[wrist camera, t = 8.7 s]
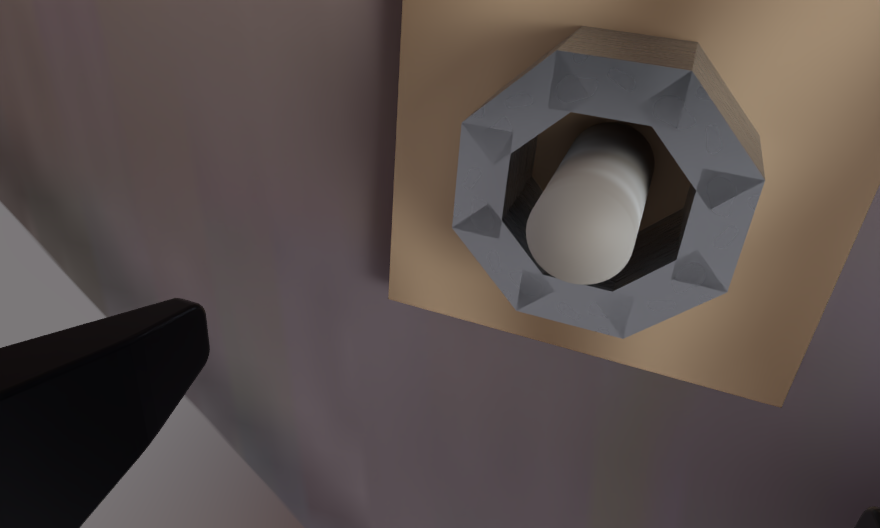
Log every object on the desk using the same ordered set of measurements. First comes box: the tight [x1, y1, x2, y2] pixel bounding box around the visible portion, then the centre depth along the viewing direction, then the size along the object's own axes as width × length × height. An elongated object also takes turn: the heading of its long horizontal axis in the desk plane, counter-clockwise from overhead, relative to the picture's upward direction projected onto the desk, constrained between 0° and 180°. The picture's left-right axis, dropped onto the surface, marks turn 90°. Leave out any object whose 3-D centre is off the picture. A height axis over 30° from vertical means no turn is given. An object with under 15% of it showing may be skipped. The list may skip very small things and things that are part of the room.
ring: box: [452, 26, 765, 339], centre depth 16 cm, size 6×6×3 cm
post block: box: [388, 0, 880, 408], centre depth 16 cm, size 12×12×6 cm
